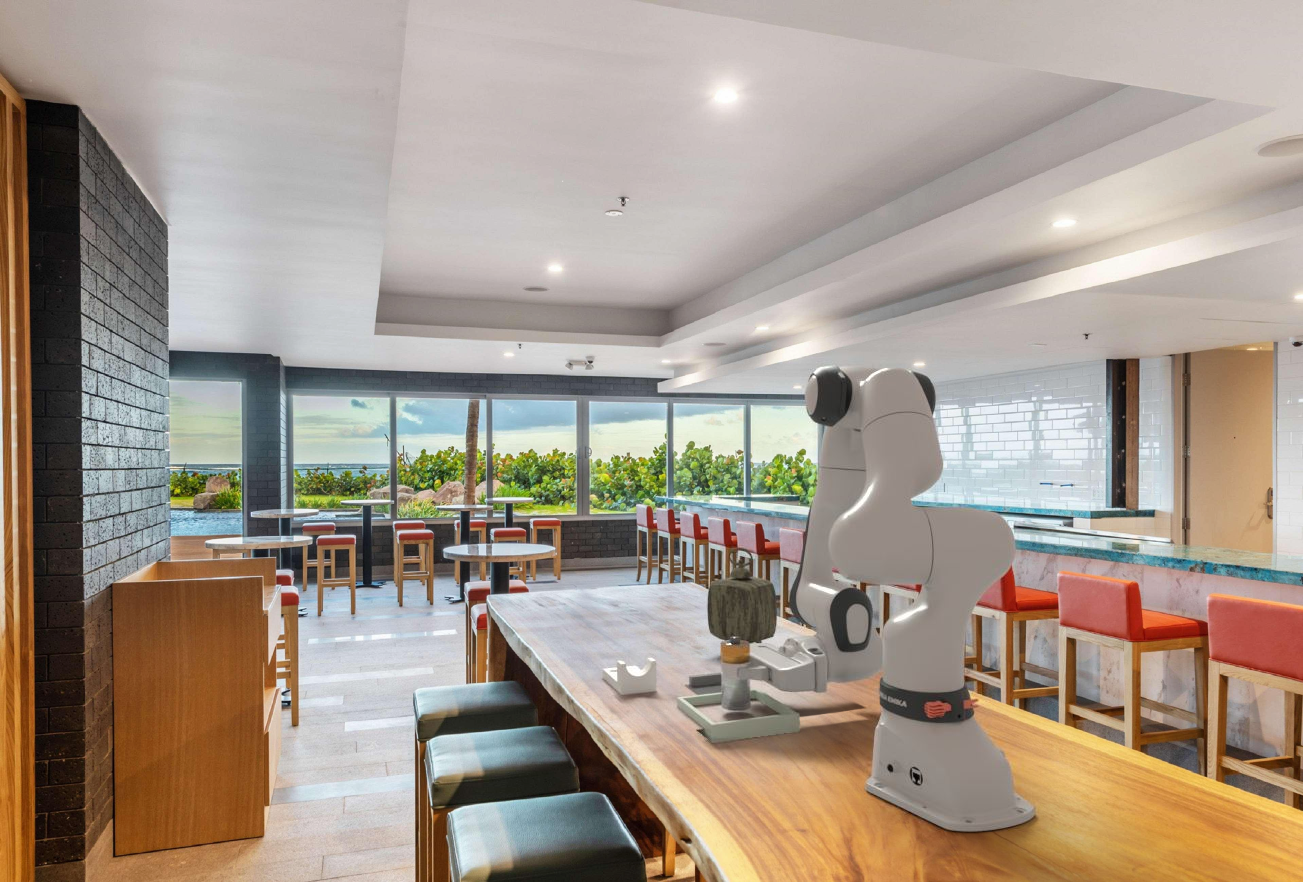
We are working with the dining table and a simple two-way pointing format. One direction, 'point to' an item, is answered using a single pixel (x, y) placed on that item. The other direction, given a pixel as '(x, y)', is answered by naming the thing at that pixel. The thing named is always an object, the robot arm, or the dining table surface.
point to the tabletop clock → (742, 605)
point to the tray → (743, 727)
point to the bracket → (632, 677)
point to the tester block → (705, 683)
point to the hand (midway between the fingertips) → (730, 669)
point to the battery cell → (734, 674)
